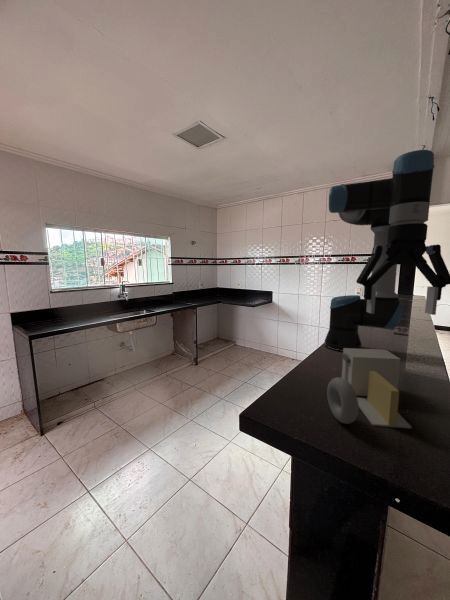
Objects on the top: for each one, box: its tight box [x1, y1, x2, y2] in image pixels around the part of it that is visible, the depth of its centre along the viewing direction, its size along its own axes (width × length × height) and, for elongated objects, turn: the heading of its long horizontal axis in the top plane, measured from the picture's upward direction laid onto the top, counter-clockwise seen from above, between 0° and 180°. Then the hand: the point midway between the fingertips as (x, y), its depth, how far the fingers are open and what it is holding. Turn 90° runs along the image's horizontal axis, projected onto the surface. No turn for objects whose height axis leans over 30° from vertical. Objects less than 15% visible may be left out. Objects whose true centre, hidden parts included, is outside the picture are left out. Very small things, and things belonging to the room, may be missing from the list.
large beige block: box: [341, 348, 401, 397], centre depth 73 cm, size 8×13×11 cm, turn 82°
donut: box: [326, 376, 359, 425], centre depth 58 cm, size 10×4×10 cm, turn 4°
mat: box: [357, 397, 413, 429], centre depth 62 cm, size 12×8×1 cm, turn 172°
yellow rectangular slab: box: [366, 371, 400, 426], centre depth 61 cm, size 2×11×8 cm, turn 173°
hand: (399, 313), depth 62 cm, fingers open, 13 cm apart
